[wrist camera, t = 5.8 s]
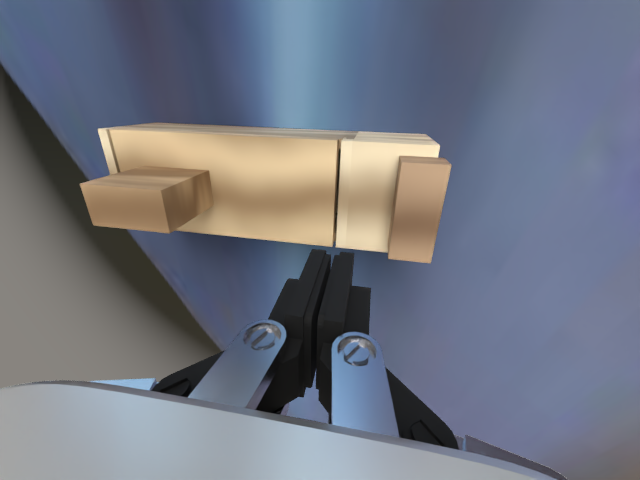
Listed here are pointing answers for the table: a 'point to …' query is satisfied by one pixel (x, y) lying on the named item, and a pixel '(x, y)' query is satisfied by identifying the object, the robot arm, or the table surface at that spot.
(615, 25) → the table surface
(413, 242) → the brown wooden block
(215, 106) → the table surface
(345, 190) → the light wooden long piece
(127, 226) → the lid
